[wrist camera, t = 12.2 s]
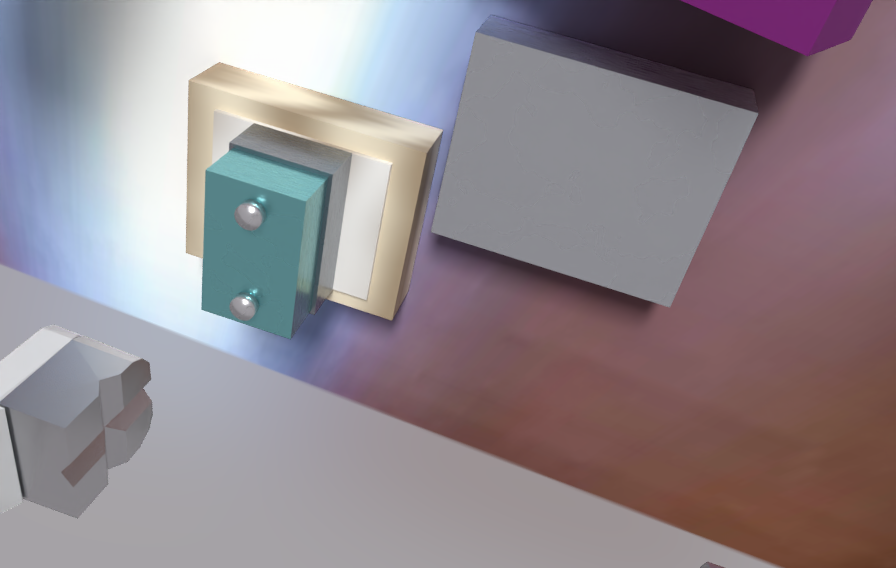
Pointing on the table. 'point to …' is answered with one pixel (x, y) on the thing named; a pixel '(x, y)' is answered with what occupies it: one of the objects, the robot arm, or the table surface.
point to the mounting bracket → (793, 20)
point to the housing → (272, 228)
